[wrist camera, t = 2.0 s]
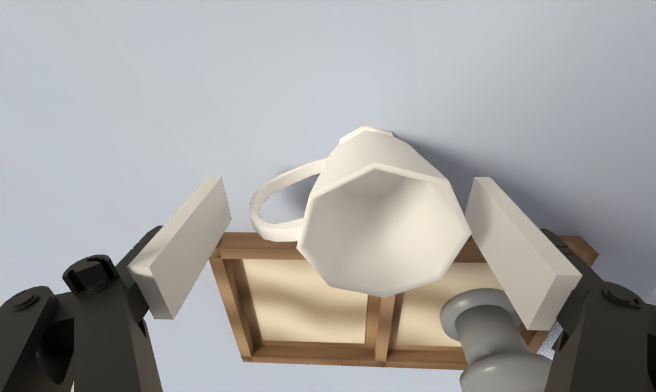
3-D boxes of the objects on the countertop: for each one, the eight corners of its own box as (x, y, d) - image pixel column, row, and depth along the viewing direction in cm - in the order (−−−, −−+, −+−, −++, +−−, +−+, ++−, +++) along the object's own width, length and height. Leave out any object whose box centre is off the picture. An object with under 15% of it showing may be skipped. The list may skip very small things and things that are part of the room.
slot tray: (214, 232, 22) (205, 248, 21) (580, 236, 21) (598, 253, 19) (248, 344, 30) (243, 361, 29) (514, 353, 29) (524, 372, 27)
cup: (423, 198, 20) (464, 294, 13) (282, 212, 21) (252, 307, 14) (425, 93, 16) (484, 149, 9) (254, 118, 17) (196, 184, 11)
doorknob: (447, 286, 23) (475, 362, 18) (529, 288, 23) (582, 366, 18) (433, 334, 27) (454, 409, 22) (505, 336, 26) (544, 413, 21)
